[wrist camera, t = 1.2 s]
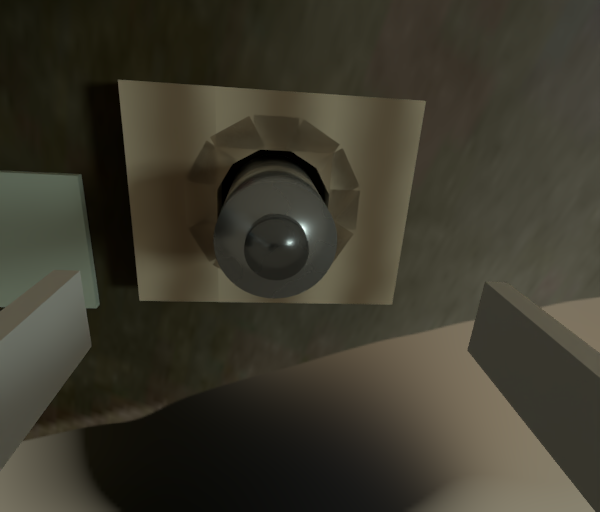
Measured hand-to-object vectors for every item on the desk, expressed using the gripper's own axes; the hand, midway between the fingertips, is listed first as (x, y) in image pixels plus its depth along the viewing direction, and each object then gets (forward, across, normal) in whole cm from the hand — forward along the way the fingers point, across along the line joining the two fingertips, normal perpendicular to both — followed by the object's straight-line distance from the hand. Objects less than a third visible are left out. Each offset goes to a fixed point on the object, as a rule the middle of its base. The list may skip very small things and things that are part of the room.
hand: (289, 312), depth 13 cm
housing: (+17, 0, 0) cm, 17 cm away
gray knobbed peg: (+17, 0, 0) cm, 17 cm away
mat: (+16, -18, -4) cm, 25 cm away
